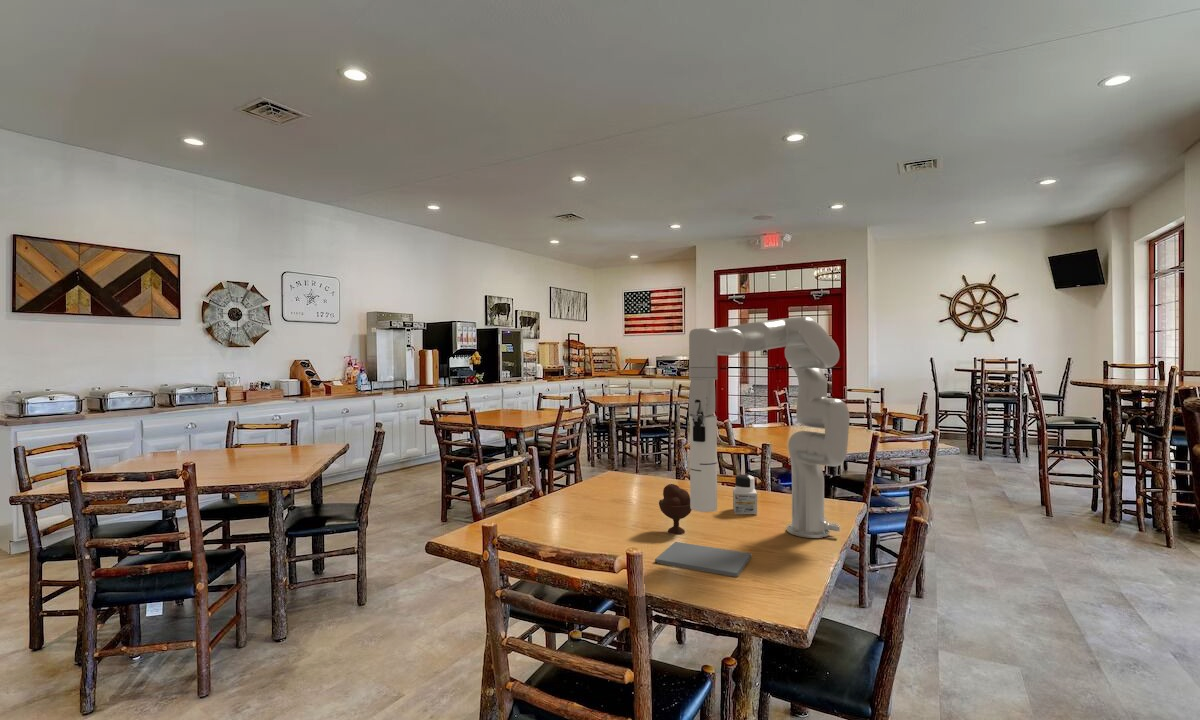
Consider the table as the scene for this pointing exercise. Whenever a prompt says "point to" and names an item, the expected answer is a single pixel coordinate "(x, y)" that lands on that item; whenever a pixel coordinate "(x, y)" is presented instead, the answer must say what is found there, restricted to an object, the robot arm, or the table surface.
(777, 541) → the table surface
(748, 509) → the container
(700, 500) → the cylindrical container
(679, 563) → the board
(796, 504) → the robot arm
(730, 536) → the table surface
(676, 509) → the ice cream bowl
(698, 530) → the table surface
